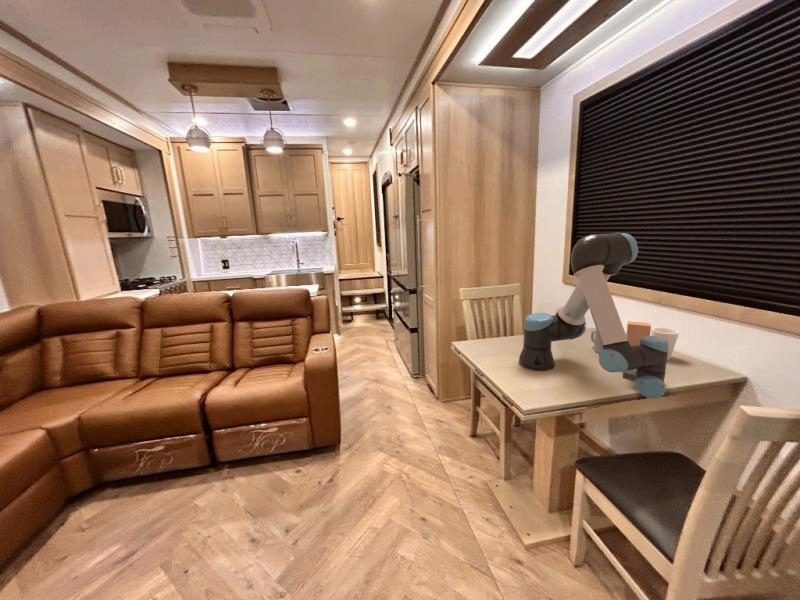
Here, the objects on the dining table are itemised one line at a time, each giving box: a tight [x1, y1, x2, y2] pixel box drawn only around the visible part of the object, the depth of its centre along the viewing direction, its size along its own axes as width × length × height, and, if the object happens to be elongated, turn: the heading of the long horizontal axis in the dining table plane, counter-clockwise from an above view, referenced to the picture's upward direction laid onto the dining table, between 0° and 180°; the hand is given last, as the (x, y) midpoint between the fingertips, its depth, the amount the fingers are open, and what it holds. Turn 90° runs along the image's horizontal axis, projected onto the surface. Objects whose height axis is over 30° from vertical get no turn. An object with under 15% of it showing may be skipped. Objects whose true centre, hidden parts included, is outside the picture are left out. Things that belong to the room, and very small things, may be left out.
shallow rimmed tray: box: [621, 370, 635, 381], centre depth 137 cm, size 25×10×4 cm, turn 147°
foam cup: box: [650, 327, 680, 361], centre depth 146 cm, size 10×9×13 cm
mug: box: [590, 328, 604, 354], centre depth 157 cm, size 12×8×11 cm
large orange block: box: [625, 320, 652, 346], centre depth 142 cm, size 6×8×16 cm
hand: (639, 349), depth 135 cm, fingers closed
